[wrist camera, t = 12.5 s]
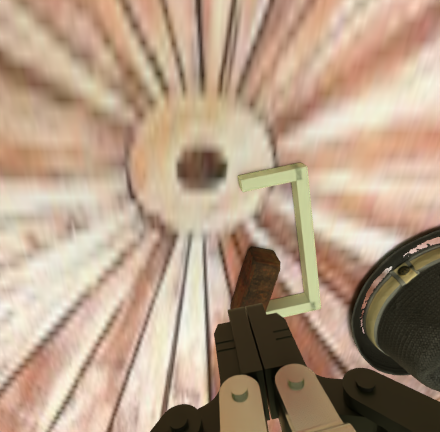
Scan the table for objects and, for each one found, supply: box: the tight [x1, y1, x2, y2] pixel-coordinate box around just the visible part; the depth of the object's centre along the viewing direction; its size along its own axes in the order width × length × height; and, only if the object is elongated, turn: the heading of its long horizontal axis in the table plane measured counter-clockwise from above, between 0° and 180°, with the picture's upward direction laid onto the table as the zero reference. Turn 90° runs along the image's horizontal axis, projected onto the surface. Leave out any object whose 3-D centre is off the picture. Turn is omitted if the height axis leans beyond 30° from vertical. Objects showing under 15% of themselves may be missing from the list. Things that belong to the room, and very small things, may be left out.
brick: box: [231, 247, 280, 312], centre depth 46 cm, size 11×4×5 cm, turn 166°
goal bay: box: [238, 163, 321, 317], centre depth 46 cm, size 8×21×2 cm, turn 11°
